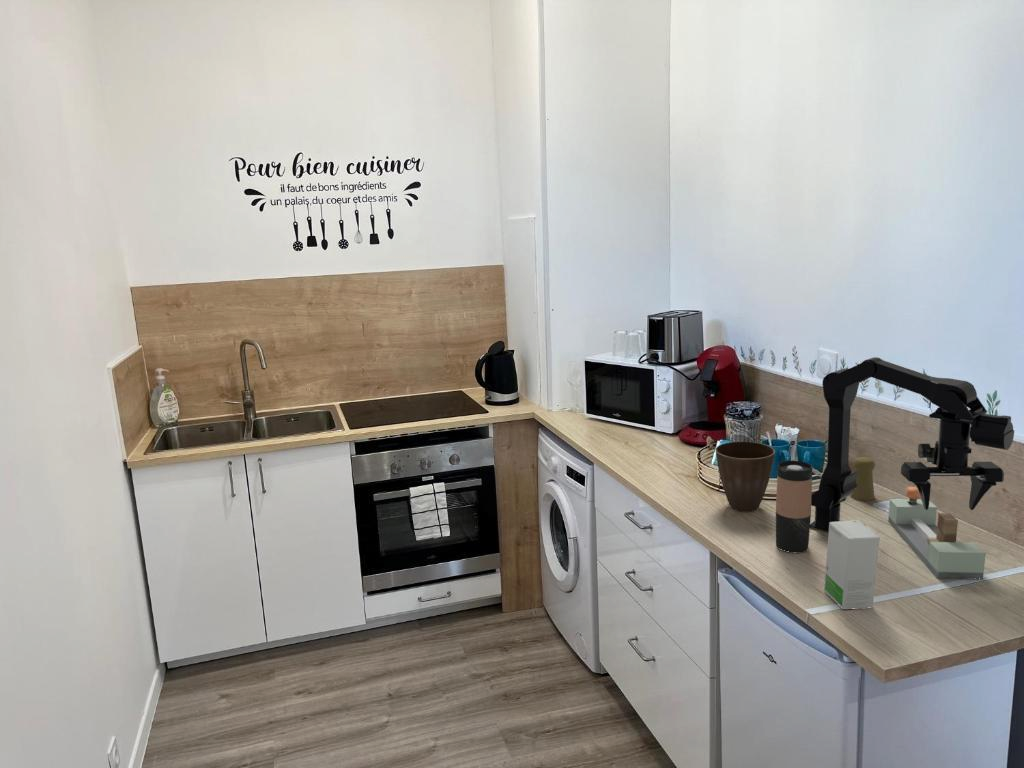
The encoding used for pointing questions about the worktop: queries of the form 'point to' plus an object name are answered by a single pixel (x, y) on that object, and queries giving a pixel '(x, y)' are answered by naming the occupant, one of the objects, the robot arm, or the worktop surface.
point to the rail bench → (939, 556)
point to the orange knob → (912, 495)
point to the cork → (864, 479)
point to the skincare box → (851, 564)
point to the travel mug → (793, 505)
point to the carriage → (945, 529)
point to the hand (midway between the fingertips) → (948, 509)
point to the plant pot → (744, 473)
